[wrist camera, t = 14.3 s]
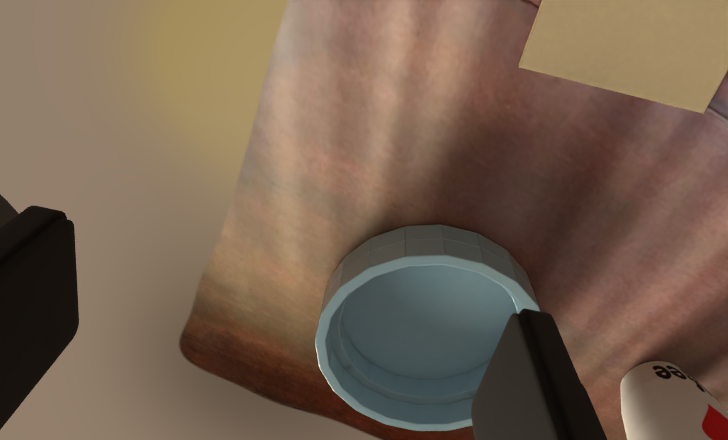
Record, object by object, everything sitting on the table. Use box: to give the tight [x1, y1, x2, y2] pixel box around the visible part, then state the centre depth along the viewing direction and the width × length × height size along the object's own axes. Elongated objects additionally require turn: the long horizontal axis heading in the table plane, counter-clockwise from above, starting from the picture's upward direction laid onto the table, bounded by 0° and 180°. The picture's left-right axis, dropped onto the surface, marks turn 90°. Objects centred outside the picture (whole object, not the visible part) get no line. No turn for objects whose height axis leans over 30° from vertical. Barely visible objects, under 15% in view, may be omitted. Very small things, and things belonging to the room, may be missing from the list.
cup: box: [621, 361, 728, 440], centre depth 40 cm, size 8×8×10 cm
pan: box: [315, 224, 540, 431], centre depth 40 cm, size 17×17×4 cm
